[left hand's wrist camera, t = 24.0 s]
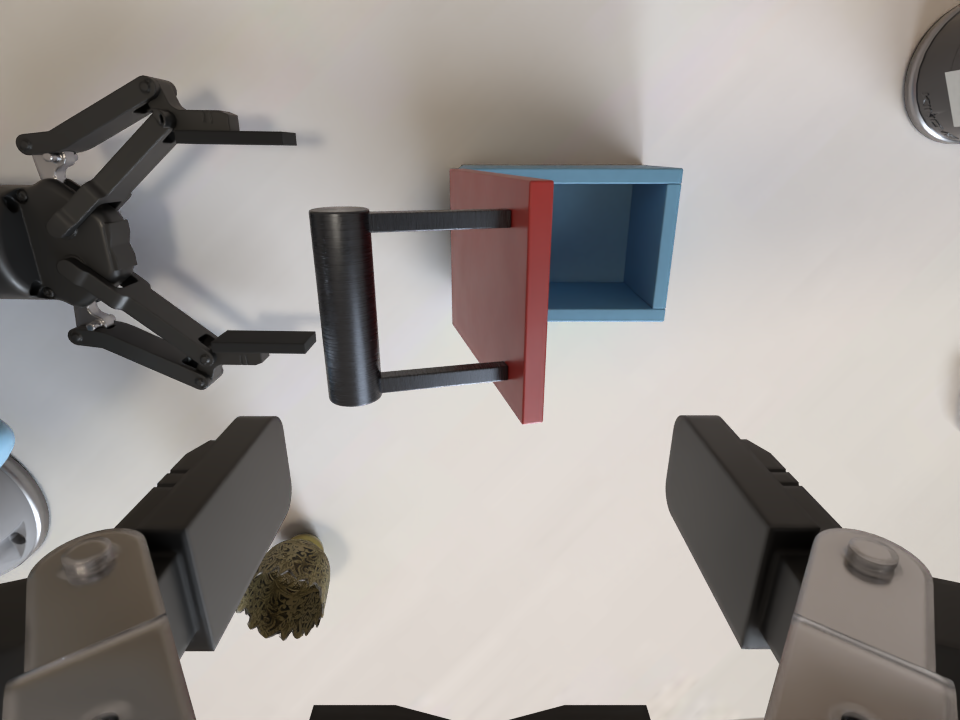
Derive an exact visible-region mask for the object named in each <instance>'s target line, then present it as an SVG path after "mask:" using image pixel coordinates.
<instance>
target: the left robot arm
mask: <svg viewBox="0 0 960 720" xmlns="http://www.w3.org/2000/svg"><path fill="white" fill-rule="evenodd" d="M904 97H905V105H906V109H907V112H908V115H909V117H910V120H911V121H912V123H913V125H914V126H915V127H916V128H917V130H919V131H920V132H921V133H922V134H923V135H924V136H926V137H928V138H929V139H931V140H934V141H937V142H940V143H947V144H960V5H959V6H957V7H955V8H954V9H952V10H951V11H949V12H948V13H947V14H945V15H944V16H943V17H942V18H941V19H939V20H938V21H937V22H936V23H935V24H934V25H933V26H932V28H931V29H930V30H929V31H928V32H927V33H926V35H925V36H924V37H923V39H922V40H921V42H920V44H919V45H918V47H917V49H916V51H915V52H914V55H913V57H912V59H911V62H910V64H909V67H908V71H907V74H906V80H905V88H904ZM666 499H667V504H668V508H669V511H670V513H671V516H672V517H673V519H674V521H675V523H676V525H677V527H678V529H679V531H680V533H681V535H682V536H683V538H684V540H685V542H686V544H687V546H688V548H689V550H690V552H691V554H692V555H693V557H694V559H695V561H696V563H697V565H698V567H699V569H700V571H701V573H702V574H703V576H704V578H705V580H706V582H707V584H708V586H709V588H710V590H711V592H712V593H713V595H714V597H715V599H716V601H717V603H718V605H719V607H720V609H721V611H722V612H723V614H724V616H725V618H726V620H727V622H728V624H729V626H730V628H731V630H732V631H733V633H734V635H735V637H736V639H737V641H738V643H739V645H740V647H741V649H771V651H772V652H773V654H774V656H775V657H776V659H777V661H778V663H779V667H778V671H777V674H776V678H775V682H774V685H773V689H772V692H771V696H770V700H769V703H768V707H767V710H766V714H765V718H764V720H960V583H957V582H952V581H948V580H943V579H938V578H933V577H932V576H931V574H930V572H929V570H928V569H927V567H926V566H925V565H924V564H923V563H922V562H921V561H920V560H919V559H918V558H917V557H915V556H914V555H913V554H912V553H910V552H909V551H907V550H906V549H904V548H903V547H901V546H899V545H897V544H895V543H894V542H891V541H889V540H887V539H885V538H882V537H880V536H877V535H874V534H871V533H868V532H864V531H859V530H855V529H847V528H842V527H841V526H840V525H839V524H838V523H837V522H836V521H835V520H834V519H833V518H832V517H831V516H830V515H829V514H828V513H827V511H826V510H825V509H824V508H823V507H822V506H821V505H820V504H819V503H818V502H817V501H816V500H815V499H814V498H813V497H812V496H811V495H810V494H809V493H808V492H807V491H806V490H805V489H804V488H803V487H802V486H799V482H798V481H797V480H796V479H795V478H794V477H793V476H792V475H791V474H790V473H789V472H786V469H785V468H784V467H783V466H782V465H781V464H780V463H779V462H778V461H777V460H776V459H775V457H774V456H773V455H772V454H771V453H769V452H768V451H766V450H764V449H762V448H761V447H759V446H757V445H755V444H754V443H752V442H750V441H748V440H747V439H740V438H739V437H738V436H737V435H736V434H735V433H734V431H733V430H732V429H731V428H730V427H729V426H728V425H727V424H726V423H725V421H724V420H723V419H722V418H721V417H720V416H716V415H681V416H679V417H678V418H677V419H676V421H675V425H674V430H673V436H672V443H671V450H670V457H669V464H668V471H667V478H666ZM290 501H291V478H290V471H289V464H288V457H287V451H286V444H285V437H284V430H283V425H282V422H281V420H280V419H279V418H278V417H277V416H239V417H237V418H236V419H235V420H234V421H233V422H232V423H231V424H230V425H229V426H228V427H227V429H226V430H225V431H224V432H223V433H222V434H221V435H220V436H219V437H218V438H217V439H216V440H210V441H208V442H206V443H205V444H203V445H201V446H199V447H198V448H196V449H194V450H192V451H191V452H189V453H187V454H186V455H185V456H184V457H183V458H182V459H181V460H180V461H179V462H178V463H177V464H176V465H175V466H174V467H173V468H172V469H171V470H170V474H166V475H165V476H164V477H163V478H162V479H161V480H160V481H159V483H158V484H157V487H154V488H153V489H152V490H151V491H150V492H149V493H148V494H147V495H146V496H145V497H144V498H143V499H142V500H141V501H140V502H139V503H138V504H137V505H136V506H135V507H134V508H133V509H132V510H131V511H130V512H129V513H128V514H127V515H126V516H125V518H124V519H123V520H122V521H121V522H120V523H119V524H118V525H117V526H116V527H115V528H113V529H105V530H101V531H96V532H92V533H89V534H86V535H83V536H80V537H78V538H75V539H73V540H71V541H69V542H66V543H65V544H63V545H61V546H59V547H57V548H56V549H54V550H53V551H51V552H50V553H48V554H47V555H46V556H45V557H43V558H42V559H41V560H40V561H39V562H38V563H37V564H36V565H35V566H34V567H33V569H32V570H31V572H30V574H29V576H28V578H26V579H21V580H16V581H12V582H7V583H2V584H0V720H196V718H195V714H194V711H193V707H192V703H191V700H190V696H189V692H188V689H187V685H186V682H185V678H184V674H183V671H182V667H181V664H180V658H181V657H182V655H183V653H184V652H185V651H214V650H215V648H216V646H217V644H218V643H219V641H220V639H221V637H222V635H223V633H224V631H225V629H226V628H227V626H228V624H229V622H230V620H231V618H232V616H233V614H234V613H235V611H236V609H237V607H238V605H239V603H240V601H241V599H242V598H243V596H244V594H245V592H246V590H247V588H248V586H249V584H250V582H251V581H252V579H253V577H254V575H255V573H256V571H257V569H258V567H259V566H260V564H261V562H262V560H263V558H264V556H265V554H266V552H267V551H268V549H269V547H270V545H271V543H272V541H273V539H274V537H275V536H276V534H277V532H278V530H279V528H280V526H281V524H282V522H283V521H284V519H285V517H286V515H287V512H288V510H289V506H290ZM310 720H449V719H445V718H442V717H438V716H434V715H430V714H427V713H423V712H419V711H415V710H412V709H408V708H404V707H400V706H397V705H314V706H313V710H312V713H311V716H310ZM511 720H650V716H649V713H648V710H647V706H646V705H563V706H560V707H556V708H552V709H548V710H545V711H541V712H537V713H533V714H530V715H526V716H522V717H518V718H515V719H511Z"/></svg>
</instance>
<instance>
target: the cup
mask: <svg viewBox="0 0 960 720" xmlns="http://www.w3.org/2000/svg"><path fill="white" fill-rule="evenodd" d="M329 582H330V566H329V561H328V559H327V557H326V555H325V553H324V549H323V545H322V543H321V541H320V540H319V539H318V538H317V537H315V536H314V535H311V534H306V533H302V534H298V535H296V536H294V537H292V538H291V539H290V540H286V541H283V542H281V543H279V544H277V545H275V546H274V547H272V548H271V549H270V550H269V551H268V552H267V553H266V554H265V556H264V558H263V560H262V562H261V564H260V566H259V567H258V569H257V571H256V573H255V575H254V577H253V579H252V581H251V582H250V584H249V586H248V588H247V590H246V592H245V594H244V596H243V598H242V599H241V601H240V603H239V605H238V607H237V609H236V613H241V612H242V611H244V609H245V614H246V615H247V614H248V615H249V617H250V618H249V622H248V624H247V625H248V627H249V629H254V628H256V627H257V628H258V631H259V633H260V634H261V635H262V636H263V637H264V638H269V637H272V636H274V635H276V634H280V633H281V637H280V636H279V637H280V638H281V639H282V640H283V641H284V640H286V639H287V637H288V636H289V634H290V633H291V632H292V633H293V636H294V637H295V638H296V639H298V638H300V637H301V636H303V634H304V633H305V636H307V635H308V633H309V632H310V630H311V629H312V628H313V627H314V625H316V627H318V625H319V623H320V619H321V617H322V618H323V615H324V608H325V603H326V598H327V593H328V588H329ZM292 630H293V631H292Z"/></svg>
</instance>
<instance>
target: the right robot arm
mask: <svg viewBox="0 0 960 720" xmlns="http://www.w3.org/2000/svg"><path fill="white" fill-rule="evenodd" d="M176 95H177V90H176V88H175V86H174V85H173V84H172V83H171V82H169V81H166V80H162V79H157V78H153V77H148V76H143V75H142V76H139V77H137V78H136V79H134V80H132V81H131V82H129V83H128V84H126V85H124V86H123V87H121V88H119V89H118V90H116V91H114V92H113V93H111V94H109V95H108V96H106V97H104V98H103V99H101V100H99V101H98V102H96V103H94V104H93V105H91V106H90V107H88V108H86V109H85V110H83V111H81V112H80V113H78V114H76V115H75V116H73V117H71V118H70V119H68V120H66V121H65V122H63V123H61V124H60V125H58V126H56V127H55V128H53V129H52V130H50V131H47V132H38V133H29V134H21V135H19V136H18V137H17V138H16V145H17V147H18V149H19V150H20V151H21V152H22V153H23V154H25V155H32V157H33V159H34V162H35V165H36V167H37V170H38V173H39V175H40V178H41V180H40V181H39V182H37V183H36V184H34V185H0V299H56V300H61V301H64V302H67V303H68V304H71V305H73V306H74V311H75V318H76V325H77V327H76V328H74V329H71V330H70V331H69V332H68V338H69V340H70V341H71V342H72V343H74V344H76V345H82V346H90V347H99V348H104V349H106V350H108V351H111V352H113V353H115V354H118V355H120V356H122V357H125V358H127V359H129V360H132V361H134V362H136V363H138V364H141V365H143V366H145V367H148V368H150V369H152V370H155V371H157V372H159V373H162V374H164V375H166V376H169V377H171V378H173V379H176V380H178V381H180V382H183V383H185V384H187V385H190V386H192V387H194V388H196V389H200V390H204V389H206V388H207V387H208V386H210V385H211V384H212V383H213V382H214V381H215V380H217V379H218V378H219V377H220V376H221V375H222V374H223V368H222V365H257V364H260V363H262V362H263V361H264V360H265V359H266V358H267V357H268V356H269V353H289V354H306V352H307V351H308V350H309V349H310V348H311V347H312V345H313V344H314V343H315V342H316V334H315V332H308V331H236V330H227V331H226V332H225V333H223V334H222V335H220V336H219V337H217V336H216V335H214V334H213V333H212V332H210V331H209V330H207V329H206V328H205V327H203V326H202V325H200V324H199V323H198V322H196V321H195V320H193V319H192V318H191V317H189V316H188V315H187V314H185V313H184V312H182V311H181V310H180V309H178V308H177V307H175V306H174V305H173V304H171V303H170V302H168V301H167V300H166V299H164V298H163V297H161V296H160V295H159V294H157V293H156V292H155V291H153V290H152V289H151V287H150V284H149V283H148V282H147V281H145V280H144V279H143V278H141V277H140V276H138V275H137V274H136V273H134V272H133V267H134V266H135V265H137V262H136V257H135V253H134V251H133V249H132V247H131V245H130V242H129V240H130V229H129V224H128V220H124V219H123V217H122V216H121V214H120V213H119V212H118V210H119V209H120V207H121V206H122V205H123V204H124V203H125V202H126V201H127V200H128V199H129V198H130V197H131V195H132V194H131V192H132V191H133V190H134V189H135V187H136V186H137V185H138V184H139V183H140V182H141V181H142V180H143V179H144V178H145V177H146V176H147V175H148V174H149V173H150V172H151V170H152V169H153V168H154V167H155V166H156V165H157V164H158V163H159V162H160V161H161V160H162V159H163V158H164V157H165V156H166V155H167V154H168V152H169V151H170V150H171V149H172V148H173V147H174V146H175V145H176V144H177V143H180V144H232V145H296V146H297V143H296V133H289V132H266V131H240V130H239V123H238V116H237V115H235V114H232V113H230V112H225V111H217V110H186V109H184V108H183V107H182V106H181V105H180V103H179V101H178V99H177V97H176ZM151 113H152V115H151V116H150V117H149V118H148V119H147V120H146V121H145V122H144V123H143V124H142V126H141V127H140V128H139V129H138V130H137V131H136V132H135V133H134V134H133V135H132V137H131V138H130V139H129V140H128V141H127V142H126V143H125V144H124V145H123V146H122V148H121V149H120V150H119V151H118V152H117V153H116V154H115V155H114V156H113V157H112V159H111V160H110V161H109V162H108V163H107V164H106V165H105V166H104V167H103V168H102V170H101V171H100V172H99V173H98V174H97V175H96V176H95V177H94V178H93V179H92V180H91V181H89V182H86V183H85V184H83V185H82V186H80V185H78V184H77V183H75V182H74V181H72V180H70V179H67V178H66V176H65V171H66V169H67V168H68V167H70V166H72V165H73V164H74V163H75V161H77V160H78V155H77V154H76V153H78V152H83V151H86V150H89V149H91V148H93V147H95V146H97V145H98V144H100V143H102V142H103V141H105V140H107V139H109V138H110V137H112V136H114V135H115V134H117V133H119V132H120V131H122V130H124V129H125V128H127V127H129V126H131V125H132V124H134V123H136V122H137V121H139V120H141V119H142V118H144V117H146V116H148V115H149V114H151ZM119 285H121V286H122V287H123V288H118V286H119ZM99 301H102V302H104V303H105V304H107V305H108V306H110V307H111V308H114V309H118V310H122V311H124V312H126V313H127V314H128V315H130V316H131V317H133V318H134V319H136V320H137V321H138V322H140V323H141V324H143V325H144V326H146V327H147V328H149V329H150V330H151V331H153V332H154V333H156V334H157V335H159V336H160V337H161V338H160V337H157V336H155V335H153V334H151V333H148V332H146V331H144V330H142V329H139V328H137V327H135V326H132V325H130V324H127V323H123V322H119V321H115V320H116V318H115V316H114V315H112V314H107V313H104V312H102V311H101V310H100V309H99V308H98V307H97V302H99ZM162 338H163V339H162ZM14 442H15V437H14V433H13V431H12V429H11V428H10V427H9V426H8V425H7V424H6V423H5V422H4V421H2V420H1V419H0V576H1V575H3V574H5V573H7V572H9V571H11V570H12V569H14V568H16V567H17V566H19V565H20V564H22V563H23V562H24V561H25V560H26V559H27V558H28V557H30V556H31V555H32V554H33V553H34V552H35V551H36V550H37V549H38V548H39V547H40V546H41V544H42V543H43V541H44V539H45V537H46V535H47V532H48V527H49V512H48V507H47V504H46V501H45V498H44V496H43V494H42V492H41V490H40V488H39V486H38V485H37V483H36V482H35V480H34V479H33V478H32V477H31V475H30V474H29V473H28V472H27V471H26V470H25V469H24V468H23V467H22V466H21V465H20V464H19V463H18V462H17V461H16V460H14V459H13V458H12V457H10V456H9V455H10V453H11V451H12V449H13V446H14Z"/></svg>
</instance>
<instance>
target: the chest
mask: <svg viewBox="0 0 960 720" xmlns="http://www.w3.org/2000/svg"><path fill="white" fill-rule="evenodd" d="M458 169H471V170H478V171H486V172H494V173H501V174H509V175H517V176H524V177H532V178H539V179H547V180H553V181H554V191H553V212H552V234H551V255H550V276H549V298H548V319H547V321H653V322H662V321H664V315H665V309H664V308H665V307H666V300H667V292H668V284H669V276H670V268H671V260H672V252H673V245H674V237H675V229H676V221H677V213H678V205H679V197H680V190H681V184H680V183H681V182H682V174H683V169H682V168H672V167H660V166H648V165H461V167H460V168H458Z"/></svg>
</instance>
